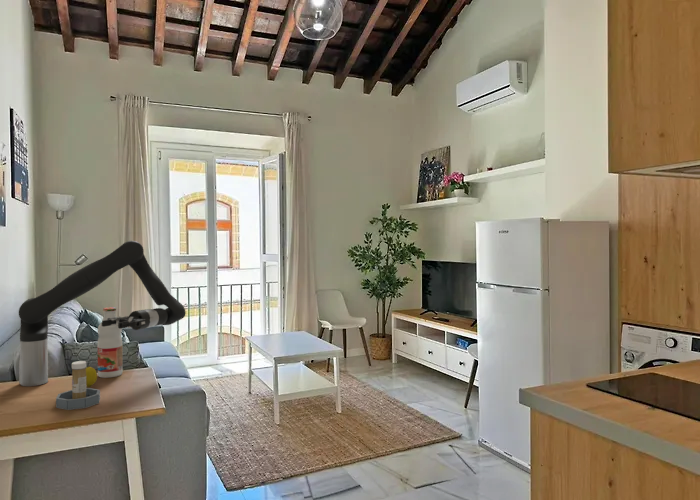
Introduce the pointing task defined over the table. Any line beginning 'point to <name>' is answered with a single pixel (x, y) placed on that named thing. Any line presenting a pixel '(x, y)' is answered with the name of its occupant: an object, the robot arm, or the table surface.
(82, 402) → the bowl
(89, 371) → the lemon
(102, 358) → the fruit juice
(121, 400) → the table surface
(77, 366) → the spice jar
